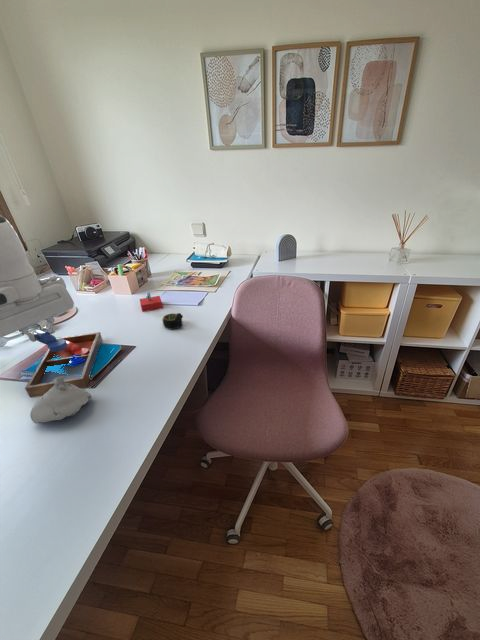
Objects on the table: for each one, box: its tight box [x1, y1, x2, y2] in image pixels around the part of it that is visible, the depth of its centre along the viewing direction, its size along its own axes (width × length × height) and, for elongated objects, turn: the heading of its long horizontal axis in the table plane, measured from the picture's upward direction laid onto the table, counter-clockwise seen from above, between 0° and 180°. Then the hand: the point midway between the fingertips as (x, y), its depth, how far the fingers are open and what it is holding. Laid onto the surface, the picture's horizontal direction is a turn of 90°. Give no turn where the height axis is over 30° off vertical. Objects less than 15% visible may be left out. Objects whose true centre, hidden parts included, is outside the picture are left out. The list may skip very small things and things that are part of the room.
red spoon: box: [65, 340, 90, 355], centre depth 93 cm, size 12×4×3 cm, turn 60°
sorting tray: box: [24, 332, 103, 398], centre depth 89 cm, size 14×26×3 cm, turn 15°
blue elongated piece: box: [33, 329, 67, 352], centre depth 78 cm, size 12×4×3 cm, turn 60°
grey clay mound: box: [29, 376, 93, 424], centre depth 71 cm, size 12×12×11 cm
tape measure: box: [161, 312, 184, 330], centre depth 108 cm, size 7×7×4 cm
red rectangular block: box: [139, 291, 164, 313], centre depth 121 cm, size 8×7×6 cm
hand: (43, 336), depth 79 cm, fingers closed on blue elongated piece, 3 cm apart
